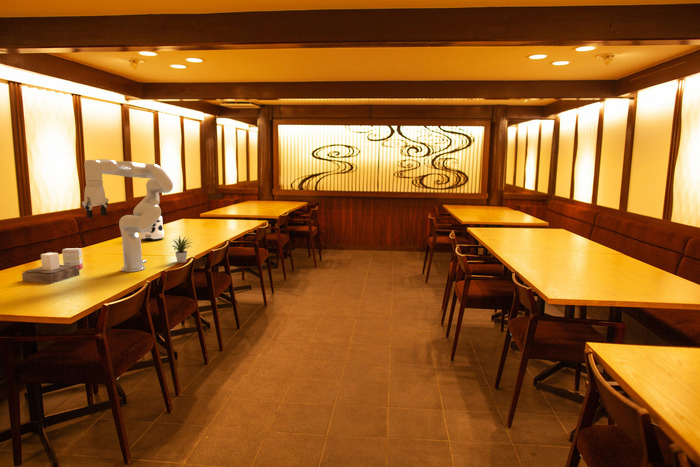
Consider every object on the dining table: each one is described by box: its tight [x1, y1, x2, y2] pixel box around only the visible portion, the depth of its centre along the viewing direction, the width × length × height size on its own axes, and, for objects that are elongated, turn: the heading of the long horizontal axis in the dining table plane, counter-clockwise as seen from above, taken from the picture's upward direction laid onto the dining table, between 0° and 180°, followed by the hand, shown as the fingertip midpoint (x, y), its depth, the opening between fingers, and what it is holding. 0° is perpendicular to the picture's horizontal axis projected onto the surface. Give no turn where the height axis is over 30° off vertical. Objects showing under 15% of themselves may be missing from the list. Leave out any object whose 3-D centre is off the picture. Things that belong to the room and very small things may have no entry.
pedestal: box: [21, 264, 80, 285], centre depth 242 cm, size 18×18×5 cm
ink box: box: [61, 247, 84, 270], centre depth 262 cm, size 9×5×12 cm, turn 102°
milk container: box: [139, 215, 165, 241], centre depth 354 cm, size 17×17×18 cm
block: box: [40, 252, 61, 270], centre depth 241 cm, size 6×6×8 cm
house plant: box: [171, 235, 194, 264], centre depth 281 cm, size 14×14×16 cm
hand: (97, 216), depth 239 cm, fingers open, 9 cm apart
